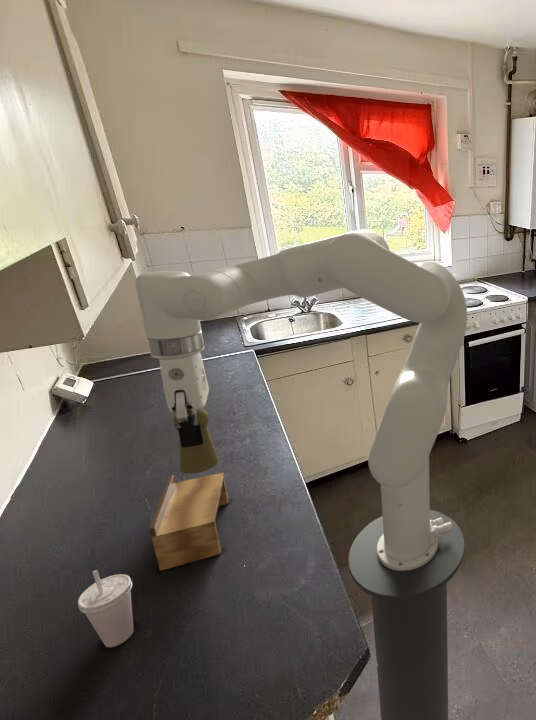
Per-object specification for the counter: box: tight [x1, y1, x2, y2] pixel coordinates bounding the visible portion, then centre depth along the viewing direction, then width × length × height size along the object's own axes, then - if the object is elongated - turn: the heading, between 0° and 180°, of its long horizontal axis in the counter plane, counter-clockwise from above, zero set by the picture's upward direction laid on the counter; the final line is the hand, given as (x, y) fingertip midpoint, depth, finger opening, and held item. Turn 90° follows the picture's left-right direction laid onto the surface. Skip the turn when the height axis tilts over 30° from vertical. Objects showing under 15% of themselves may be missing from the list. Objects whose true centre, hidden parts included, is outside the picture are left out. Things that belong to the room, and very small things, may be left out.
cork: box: [173, 408, 220, 475], centre depth 78 cm, size 6×6×11 cm
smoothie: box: [77, 569, 135, 648], centre depth 68 cm, size 6×6×14 cm
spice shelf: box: [149, 472, 229, 572], centre depth 90 cm, size 10×18×10 cm, turn 26°
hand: (195, 436), depth 78 cm, fingers closed on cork, 5 cm apart
